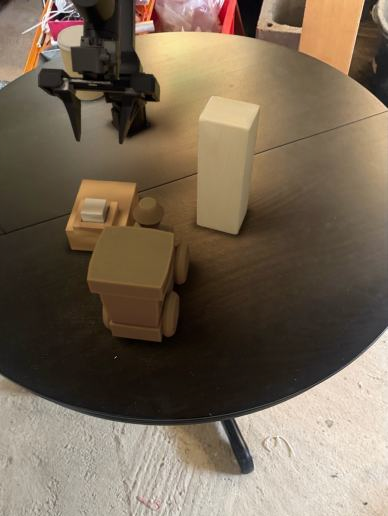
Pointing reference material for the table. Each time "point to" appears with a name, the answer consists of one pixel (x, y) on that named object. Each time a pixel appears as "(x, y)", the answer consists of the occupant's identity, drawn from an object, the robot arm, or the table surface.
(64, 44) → the coffee cup
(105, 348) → the table surface
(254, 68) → the table surface
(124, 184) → the box with white insert
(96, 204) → the white rounded block
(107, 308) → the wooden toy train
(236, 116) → the tall cream block
